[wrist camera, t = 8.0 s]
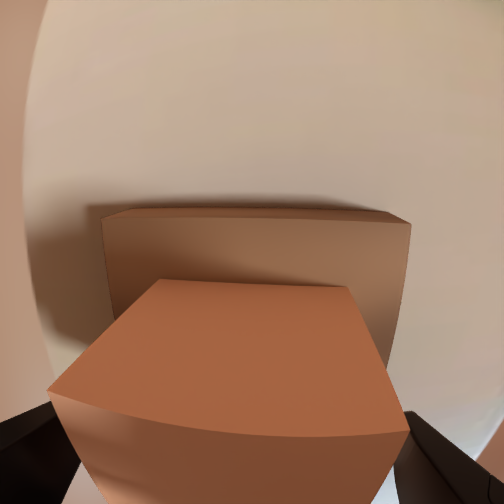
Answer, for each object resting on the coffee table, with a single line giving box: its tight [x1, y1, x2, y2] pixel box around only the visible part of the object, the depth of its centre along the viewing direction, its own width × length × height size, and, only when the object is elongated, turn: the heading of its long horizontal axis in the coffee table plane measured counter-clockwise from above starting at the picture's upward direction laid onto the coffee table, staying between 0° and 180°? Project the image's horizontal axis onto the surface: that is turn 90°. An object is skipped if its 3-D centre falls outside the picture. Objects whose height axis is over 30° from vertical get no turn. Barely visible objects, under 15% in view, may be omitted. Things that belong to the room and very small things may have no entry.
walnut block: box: [101, 207, 411, 369], centre depth 12 cm, size 10×10×3 cm
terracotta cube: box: [47, 279, 410, 504], centre depth 8 cm, size 6×6×6 cm
